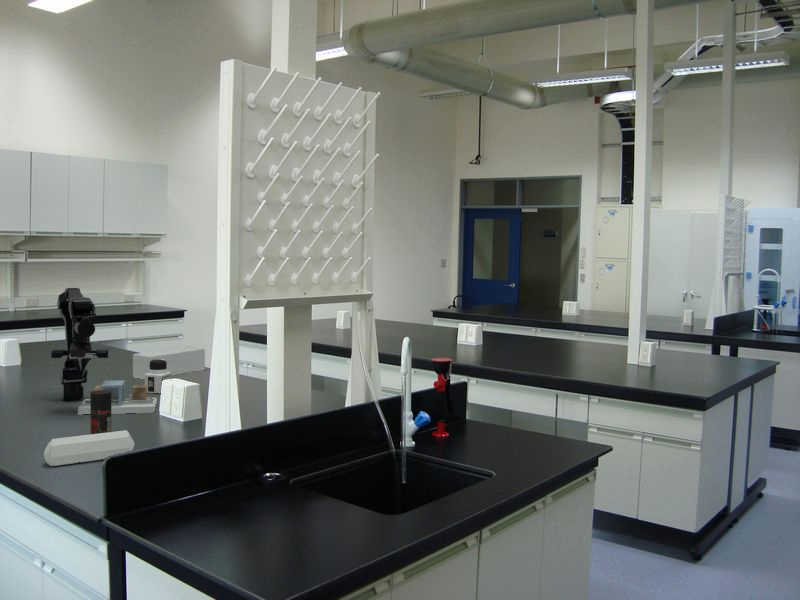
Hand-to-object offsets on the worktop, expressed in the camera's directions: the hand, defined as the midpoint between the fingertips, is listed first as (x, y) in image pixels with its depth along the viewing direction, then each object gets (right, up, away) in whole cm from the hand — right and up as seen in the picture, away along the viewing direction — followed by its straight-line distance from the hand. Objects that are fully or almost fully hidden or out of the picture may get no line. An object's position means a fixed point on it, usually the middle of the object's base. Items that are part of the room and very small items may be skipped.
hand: (81, 376), depth 258 cm
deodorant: (+22, -16, -36) cm, 45 cm away
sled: (+14, -9, +3) cm, 17 cm away
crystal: (+27, -18, -54) cm, 63 cm away
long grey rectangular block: (+9, -7, +70) cm, 71 cm away
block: (+19, -8, +4) cm, 21 cm away
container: (+16, -10, +34) cm, 39 cm away
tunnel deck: (+13, -12, +3) cm, 18 cm away
